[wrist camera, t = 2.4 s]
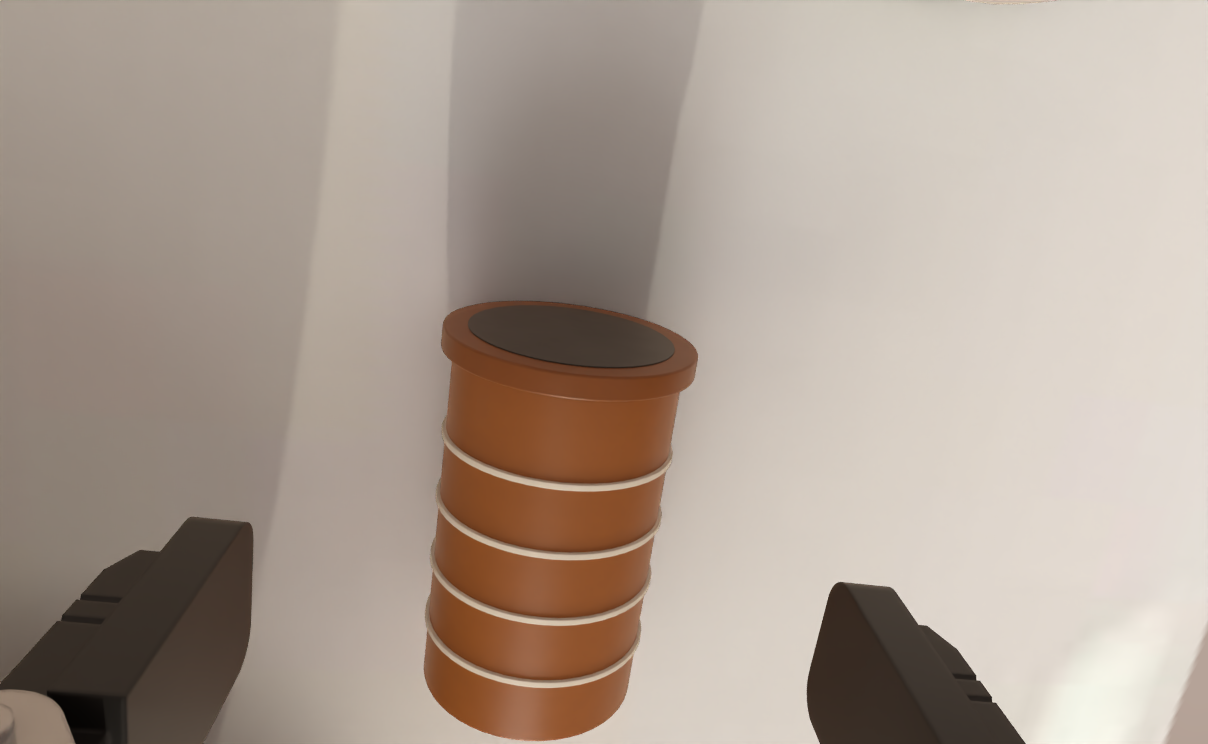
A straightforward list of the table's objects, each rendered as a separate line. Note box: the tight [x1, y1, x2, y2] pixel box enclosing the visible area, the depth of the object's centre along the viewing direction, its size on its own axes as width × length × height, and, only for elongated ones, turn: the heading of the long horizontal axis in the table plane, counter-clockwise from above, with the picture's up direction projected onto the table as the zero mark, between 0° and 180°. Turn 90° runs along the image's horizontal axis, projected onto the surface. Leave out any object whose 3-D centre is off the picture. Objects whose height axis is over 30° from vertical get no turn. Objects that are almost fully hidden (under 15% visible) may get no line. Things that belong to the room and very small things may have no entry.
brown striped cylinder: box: [424, 301, 698, 741], centre depth 24 cm, size 10×6×6 cm, turn 172°
